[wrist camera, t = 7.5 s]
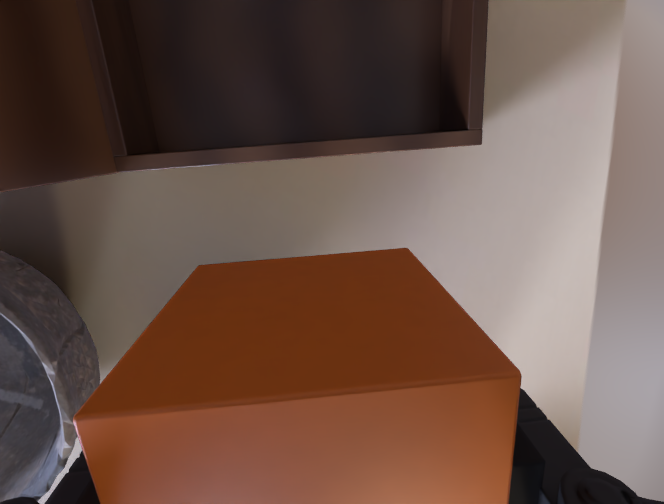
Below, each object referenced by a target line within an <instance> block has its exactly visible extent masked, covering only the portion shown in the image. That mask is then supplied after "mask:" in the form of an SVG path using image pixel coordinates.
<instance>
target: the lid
mask: <svg viewBox="0 0 664 504" xmlns="http://www.w3.org/2000/svg"><path fill="white" fill-rule="evenodd" d="M115 173H117V170H116V166H115V162H114V158H113V154H112V150H111V146H110V141H109V137H108V133H107V129H106V125H105V121H104V116H103V112H102V108H101V104H100V100H99V96H98V92H97V87H96V83H95V79H94V75H93V71H92V67H91V62H90V58H89V54H88V50H87V46H86V42H85V38H84V33H83V29H82V25H81V21H80V17H79V13H78V8H77V4H76V0H0V192H6V191H12V190H18V189H24V188H30V187H36V186H42V185H48V184H54V183H60V182H66V181H72V180H78V179H84V178H90V177H96V176H102V175H108V174H115Z"/></svg>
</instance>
